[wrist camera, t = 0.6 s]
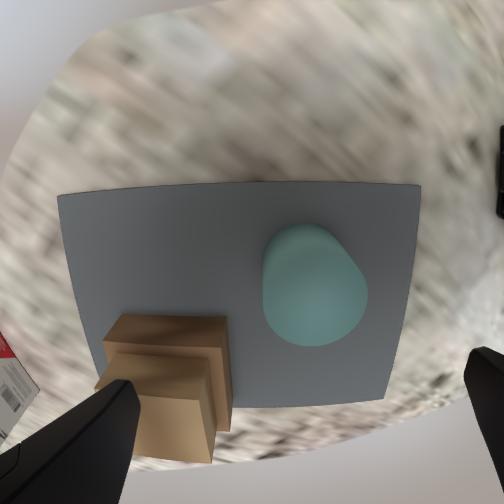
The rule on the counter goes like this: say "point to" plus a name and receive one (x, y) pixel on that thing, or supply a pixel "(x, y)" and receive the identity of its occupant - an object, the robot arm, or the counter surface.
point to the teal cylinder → (311, 286)
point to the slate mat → (245, 275)
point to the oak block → (169, 405)
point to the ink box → (13, 390)
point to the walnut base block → (180, 348)
